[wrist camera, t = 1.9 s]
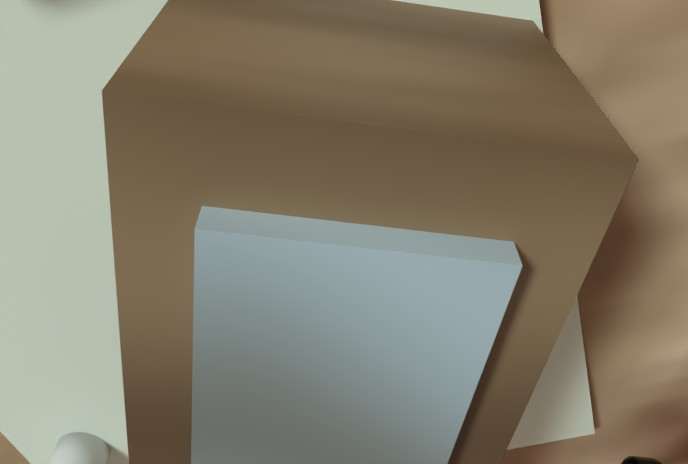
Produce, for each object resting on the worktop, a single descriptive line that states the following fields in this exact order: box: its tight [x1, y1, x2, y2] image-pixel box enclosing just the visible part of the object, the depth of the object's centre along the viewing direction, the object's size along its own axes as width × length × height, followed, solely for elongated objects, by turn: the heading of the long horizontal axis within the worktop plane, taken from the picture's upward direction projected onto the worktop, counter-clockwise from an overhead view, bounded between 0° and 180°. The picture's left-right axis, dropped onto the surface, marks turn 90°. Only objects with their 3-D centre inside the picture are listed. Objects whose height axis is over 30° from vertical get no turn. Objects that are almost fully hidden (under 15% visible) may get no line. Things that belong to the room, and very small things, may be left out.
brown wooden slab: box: [102, 0, 639, 464], centre depth 10 cm, size 10×5×5 cm, turn 172°
